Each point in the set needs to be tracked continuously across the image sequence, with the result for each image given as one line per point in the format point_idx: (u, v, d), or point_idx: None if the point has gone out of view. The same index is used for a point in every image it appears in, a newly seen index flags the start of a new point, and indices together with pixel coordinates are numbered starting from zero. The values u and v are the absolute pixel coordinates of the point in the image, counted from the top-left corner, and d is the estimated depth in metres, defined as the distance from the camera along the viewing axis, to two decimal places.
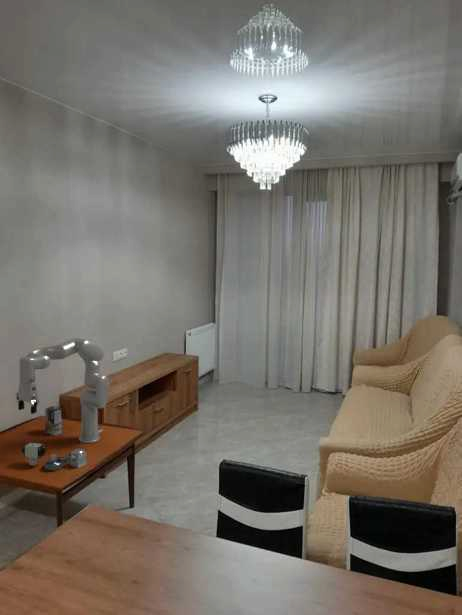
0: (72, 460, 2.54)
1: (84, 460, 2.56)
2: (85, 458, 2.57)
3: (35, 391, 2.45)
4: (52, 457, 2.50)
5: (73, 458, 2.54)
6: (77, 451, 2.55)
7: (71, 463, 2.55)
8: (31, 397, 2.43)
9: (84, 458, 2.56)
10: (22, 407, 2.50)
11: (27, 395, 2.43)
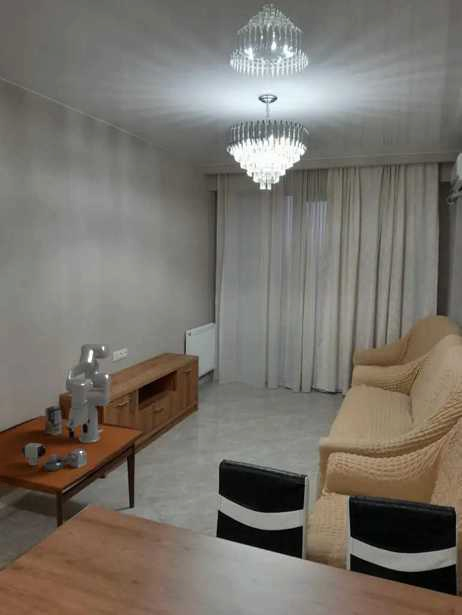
0: (72, 460, 2.54)
1: (84, 460, 2.56)
2: (85, 458, 2.57)
3: None
4: (52, 457, 2.50)
5: (73, 458, 2.54)
6: (77, 451, 2.55)
7: (71, 463, 2.55)
8: None
9: (84, 458, 2.56)
10: None
11: (85, 417, 2.55)
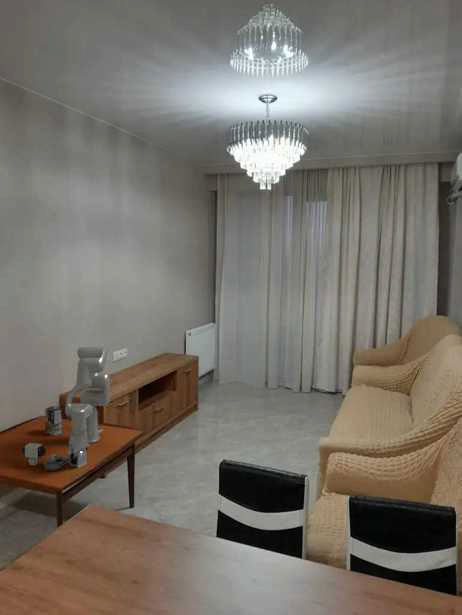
0: None
1: (84, 460, 2.56)
2: (85, 458, 2.57)
3: None
4: (52, 457, 2.50)
5: None
6: None
7: None
8: None
9: (84, 458, 2.56)
10: None
11: (85, 442, 2.57)
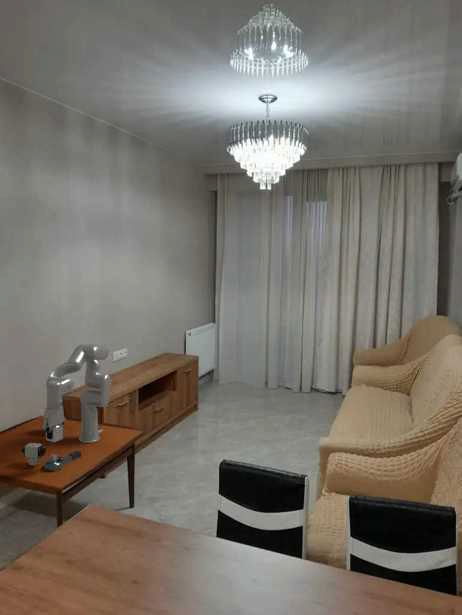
0: None
1: (60, 435, 2.49)
2: (61, 433, 2.50)
3: None
4: (52, 457, 2.50)
5: None
6: None
7: None
8: None
9: (60, 433, 2.49)
10: None
11: (61, 416, 2.50)
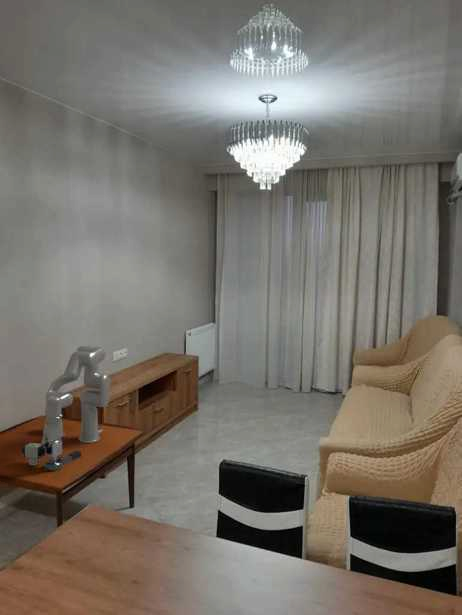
0: None
1: (59, 450, 2.50)
2: (60, 448, 2.51)
3: None
4: (52, 457, 2.50)
5: None
6: None
7: (46, 453, 2.49)
8: None
9: (59, 448, 2.50)
10: None
11: (60, 431, 2.51)
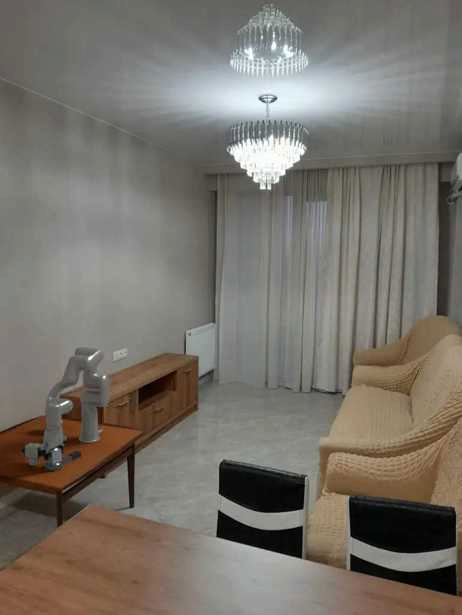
0: None
1: (59, 457, 2.51)
2: (60, 455, 2.51)
3: None
4: None
5: None
6: (51, 449, 2.49)
7: (46, 461, 2.49)
8: None
9: (59, 455, 2.50)
10: None
11: (60, 438, 2.51)
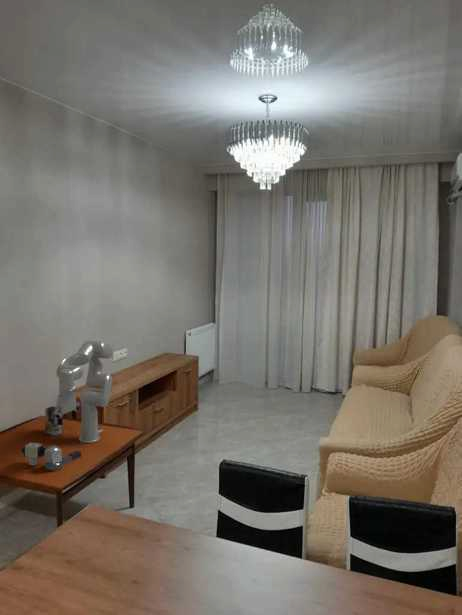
0: (46, 458, 2.49)
1: (59, 457, 2.51)
2: (60, 455, 2.51)
3: None
4: None
5: (47, 456, 2.48)
6: (51, 449, 2.49)
7: (46, 461, 2.49)
8: None
9: (59, 455, 2.50)
10: None
11: (73, 403, 2.56)
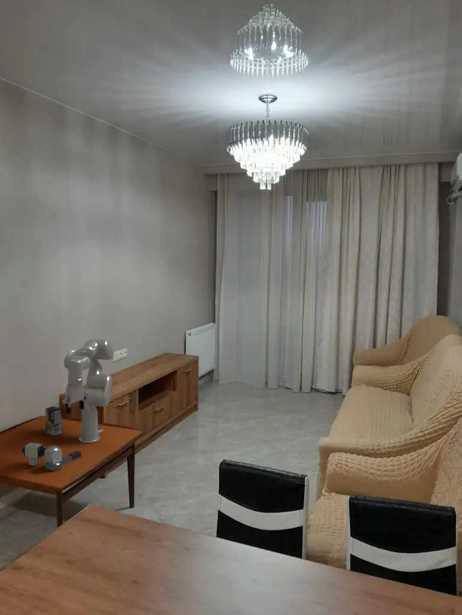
0: (46, 458, 2.49)
1: (59, 457, 2.51)
2: (60, 455, 2.51)
3: None
4: None
5: (47, 456, 2.48)
6: (51, 449, 2.49)
7: (46, 461, 2.49)
8: None
9: (59, 455, 2.50)
10: None
11: (82, 393, 2.59)
